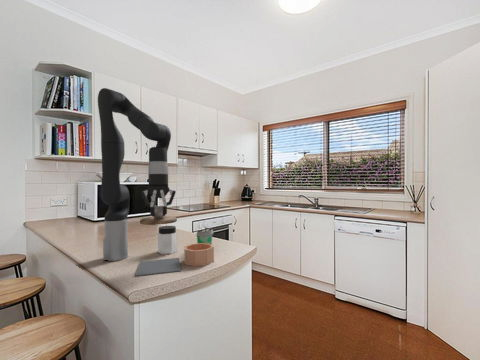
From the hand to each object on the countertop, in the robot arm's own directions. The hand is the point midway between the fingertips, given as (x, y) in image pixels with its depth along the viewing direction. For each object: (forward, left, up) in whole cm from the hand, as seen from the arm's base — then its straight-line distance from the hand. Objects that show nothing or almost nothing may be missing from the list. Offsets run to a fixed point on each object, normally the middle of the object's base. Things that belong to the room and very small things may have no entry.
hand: (158, 215), depth 97 cm
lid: (0, 0, -2) cm, 2 cm away
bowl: (+16, +2, -20) cm, 26 cm away
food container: (+22, +18, -21) cm, 35 cm away
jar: (+3, +21, -21) cm, 29 cm away
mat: (0, 0, -20) cm, 20 cm away
